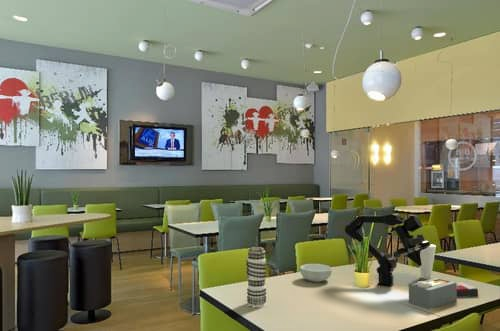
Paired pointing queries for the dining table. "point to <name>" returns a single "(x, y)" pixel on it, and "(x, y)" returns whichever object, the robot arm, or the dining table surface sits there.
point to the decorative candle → (256, 277)
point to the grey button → (423, 284)
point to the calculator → (466, 290)
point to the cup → (427, 261)
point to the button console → (433, 293)
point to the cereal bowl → (316, 272)
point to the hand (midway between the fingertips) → (420, 265)
